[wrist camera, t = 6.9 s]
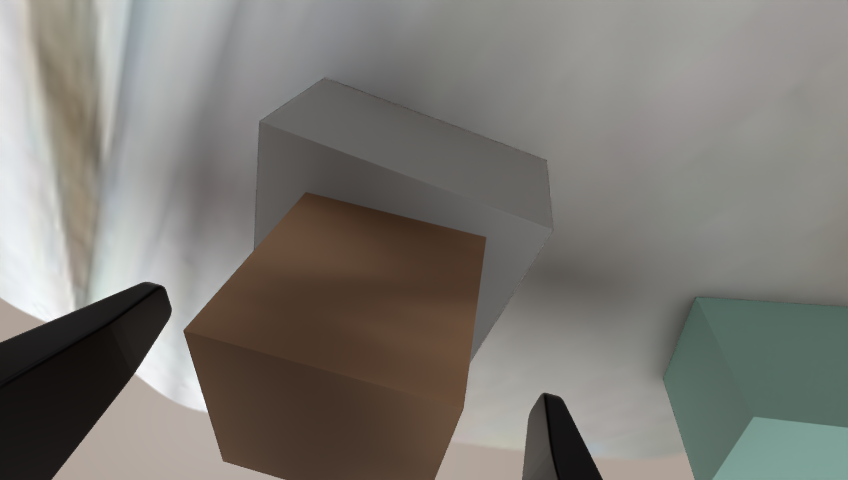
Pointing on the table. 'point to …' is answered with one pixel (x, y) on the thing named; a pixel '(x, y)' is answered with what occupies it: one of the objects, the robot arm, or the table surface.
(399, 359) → the walnut cube
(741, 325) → the teal cube
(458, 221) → the slate block
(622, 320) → the table surface
